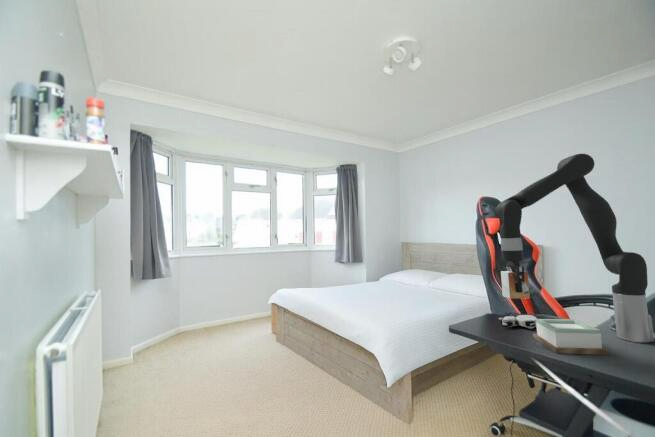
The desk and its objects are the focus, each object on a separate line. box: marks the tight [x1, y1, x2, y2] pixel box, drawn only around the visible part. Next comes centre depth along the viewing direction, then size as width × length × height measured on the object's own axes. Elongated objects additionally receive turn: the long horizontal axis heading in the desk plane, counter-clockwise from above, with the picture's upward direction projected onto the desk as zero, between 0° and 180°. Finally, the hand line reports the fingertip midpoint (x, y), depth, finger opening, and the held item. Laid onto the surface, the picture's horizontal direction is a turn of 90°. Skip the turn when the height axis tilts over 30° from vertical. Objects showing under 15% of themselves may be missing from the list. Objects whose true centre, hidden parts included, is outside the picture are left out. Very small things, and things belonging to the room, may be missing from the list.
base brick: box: [536, 318, 603, 348], centre depth 112 cm, size 14×14×6 cm
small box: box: [500, 270, 531, 300], centre depth 122 cm, size 8×6×10 cm
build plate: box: [532, 333, 610, 356], centre depth 112 cm, size 16×17×2 cm
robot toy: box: [498, 314, 538, 330], centre depth 137 cm, size 12×4×15 cm
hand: (515, 290), depth 122 cm, fingers closed on small box, 6 cm apart
